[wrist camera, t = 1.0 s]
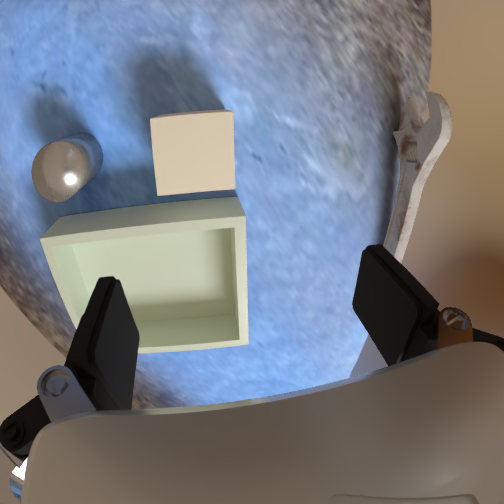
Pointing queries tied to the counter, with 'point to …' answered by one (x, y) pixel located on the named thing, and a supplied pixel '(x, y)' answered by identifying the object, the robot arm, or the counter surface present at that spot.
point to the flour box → (193, 151)
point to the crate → (160, 269)
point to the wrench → (415, 164)
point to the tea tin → (66, 166)
